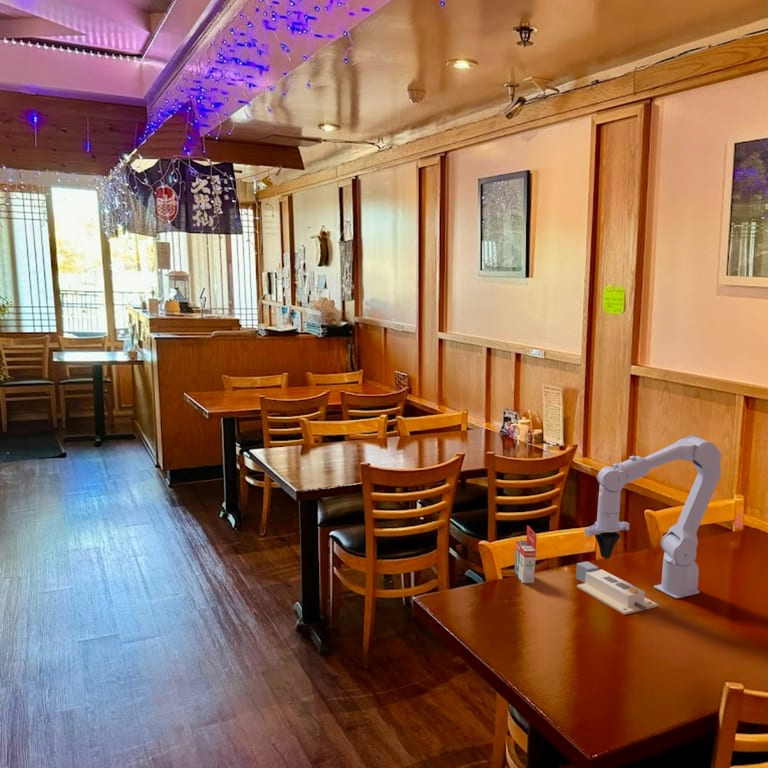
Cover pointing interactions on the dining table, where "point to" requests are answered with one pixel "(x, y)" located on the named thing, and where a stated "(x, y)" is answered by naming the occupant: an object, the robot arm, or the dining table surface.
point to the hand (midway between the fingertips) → (605, 557)
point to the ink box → (526, 557)
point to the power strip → (615, 592)
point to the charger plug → (584, 570)
